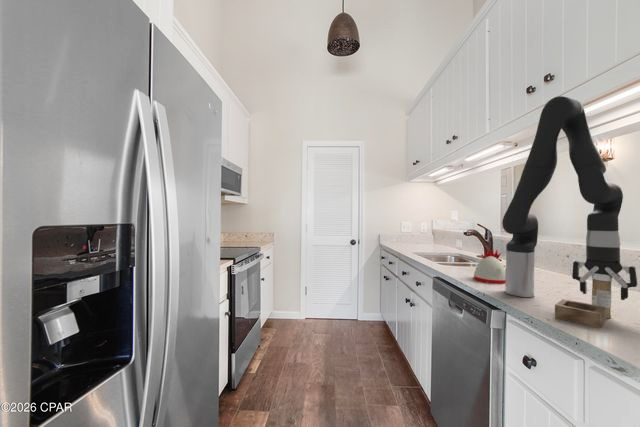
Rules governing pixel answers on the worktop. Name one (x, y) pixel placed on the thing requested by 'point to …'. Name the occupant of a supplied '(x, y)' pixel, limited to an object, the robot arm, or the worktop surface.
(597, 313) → the walnut holder
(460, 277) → the worktop surface
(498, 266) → the white rounded dome
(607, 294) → the sprinkles bottle
